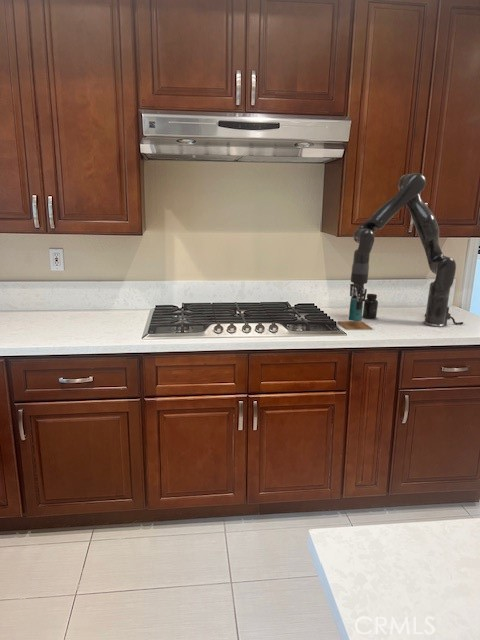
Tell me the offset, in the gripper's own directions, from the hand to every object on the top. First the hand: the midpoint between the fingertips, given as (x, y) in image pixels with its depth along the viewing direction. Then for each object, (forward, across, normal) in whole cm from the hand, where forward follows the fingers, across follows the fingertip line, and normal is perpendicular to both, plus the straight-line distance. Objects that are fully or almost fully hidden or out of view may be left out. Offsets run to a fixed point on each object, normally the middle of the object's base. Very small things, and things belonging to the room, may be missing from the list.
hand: (356, 307), depth 217 cm
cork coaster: (+9, 0, 0) cm, 9 cm away
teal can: (+6, 0, 0) cm, 6 cm away
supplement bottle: (+9, +15, -14) cm, 22 cm away
